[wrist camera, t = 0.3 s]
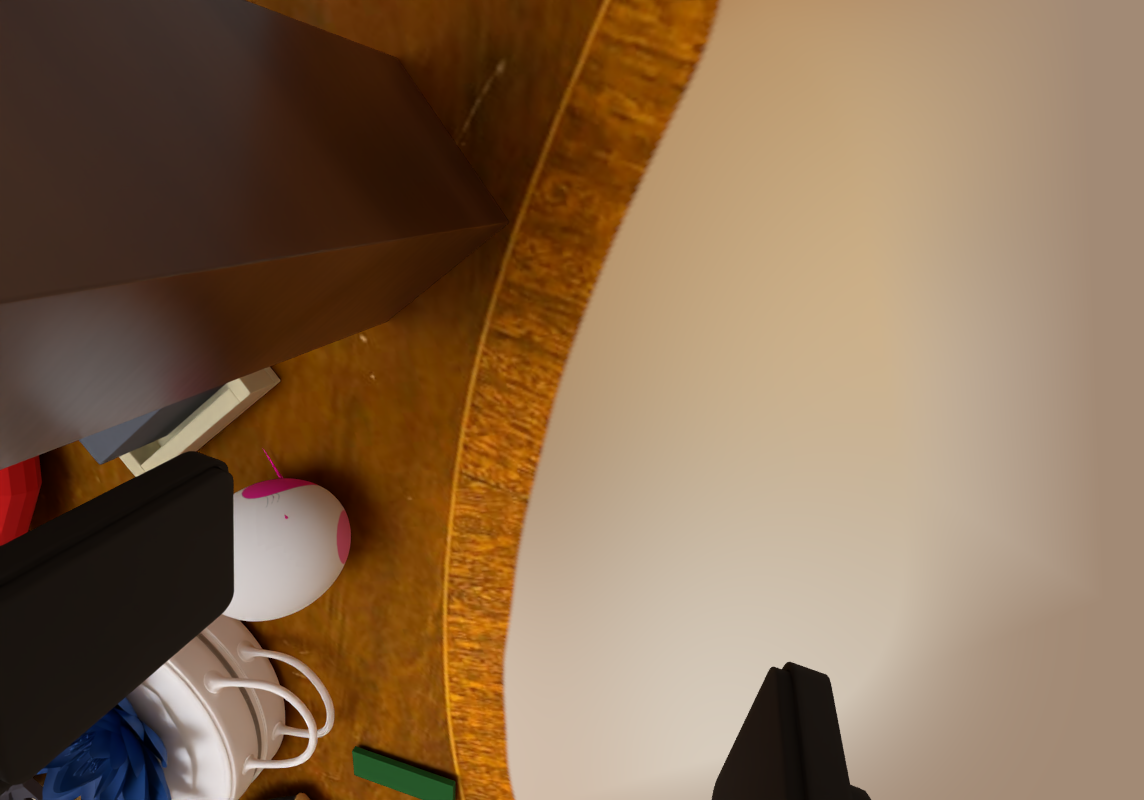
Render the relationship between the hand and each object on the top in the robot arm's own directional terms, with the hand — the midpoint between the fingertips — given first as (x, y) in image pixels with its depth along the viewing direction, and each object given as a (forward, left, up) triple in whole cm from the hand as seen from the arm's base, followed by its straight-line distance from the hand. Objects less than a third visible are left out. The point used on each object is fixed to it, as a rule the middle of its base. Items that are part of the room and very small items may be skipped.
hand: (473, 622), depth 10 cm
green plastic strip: (+23, +12, -15) cm, 30 cm away
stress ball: (+18, -3, -15) cm, 23 cm away
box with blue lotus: (+32, +2, -15) cm, 35 cm away
